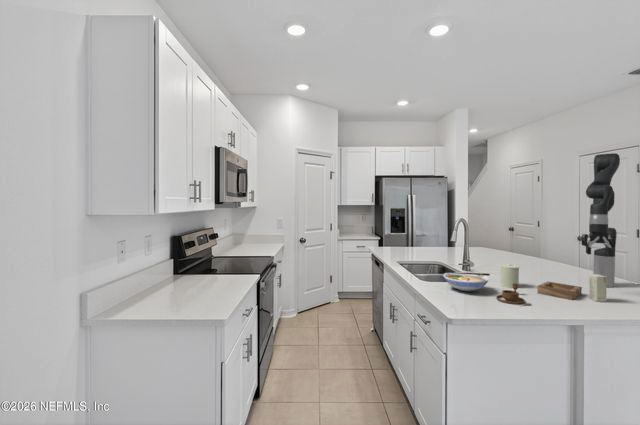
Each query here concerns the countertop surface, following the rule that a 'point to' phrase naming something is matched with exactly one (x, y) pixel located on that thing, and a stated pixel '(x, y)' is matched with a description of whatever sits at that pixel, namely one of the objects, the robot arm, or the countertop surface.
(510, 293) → the place setting
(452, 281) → the ramen bowl
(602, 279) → the skincare box
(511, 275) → the can
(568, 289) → the socket block
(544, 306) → the countertop surface
